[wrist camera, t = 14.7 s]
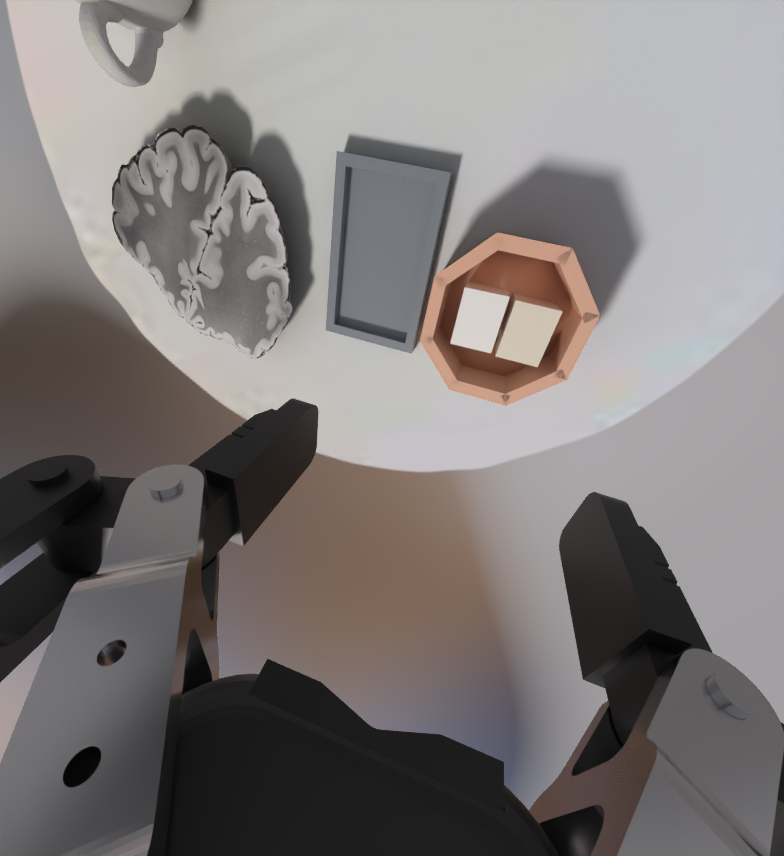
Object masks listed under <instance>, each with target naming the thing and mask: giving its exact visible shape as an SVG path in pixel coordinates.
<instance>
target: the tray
mask: <svg viewBox="0 0 784 856" xmlns="http://www.w3.org/2000/svg"><path fill="white" fill-rule="evenodd" d="M451 180H452V173H451V172H446V171H441V170H436V169H430V168H425V167H420V166H414V165H409V164H403V163H398V162H393V161H387V160H382V159H377V158H371V157H366V156H361V155H355V154H350V153H345V152H339V151H337V158H336V175H335V191H334V208H333V224H332V240H331V257H330V273H329V290H328V306H327V323H326V330H327V331H331V332H334V333H338V334H342V335H345V336H349V337H353V338H356V339H360V340H364V341H367V342H371V343H375V344H378V345H382V346H386V347H389V348H393V349H397V350H401V351H404V352H408V353H412V352H413V351H414V348H415V344H416V339H417V335H418V330H419V325H420V321H421V316H422V312H423V307H424V303H425V298H426V294H427V289H428V285H429V280H430V275H431V271H432V266H433V262H434V257H435V253H436V248H437V244H438V239H439V234H440V230H441V225H442V221H443V216H444V212H445V207H446V203H447V198H448V194H449V189H450V184H451Z"/></svg>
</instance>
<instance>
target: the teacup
mask: <svg viewBox="0 0 784 856" xmlns="http://www.w3.org/2000/svg"><path fill="white" fill-rule="evenodd" d="M76 1H78V2H80V3H81V6H80V13H79V22H80V27H81V32H82V35H83V38H84V41H85V43H86V45H87V47H88V49H89V51H90V53H91V55H92V56H93V58H94V59H95V60H96V62H97V63H98V65H99V66H100V67H101V68H102V69H103V70H104V71H105V72H106V73H107V74H108V75H109V76H110V77H112V78H113V79H114V80H115V81H117V82H119V83H121V84H122V85H125V86H129V87H137V86H142V85H145V84H146V83H148V82H149V80H150V79H151V77H152V75H153V72H154V69H155V65H156V58H157V50H158V48H160V47H161V46H162V45H163V32H164V31H167V30H169V29H171V28H173V27H174V26H176V25H177V24H178V23H179V22H180V21H181V20H182V19H183V17H184V16H185V15H186V13H187V12H188V10H189V8H190V6H191V4H192V1H193V0H76ZM107 22H115V23H117V24H119V25H122V26H124V27H126V28H129V29H132V30H134V31H135V33H136V42H135V54H134V58H133V61H132V63H131V65H130V66H129V67H127V66H125V65H124V64H123V63H122V62H121V61H120V60H119V58H118V57H117V56H116V54H115V53H114V51H113V50H112V48H111V46H110V44H109V41H108V37H107V33H106V23H107Z"/></svg>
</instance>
